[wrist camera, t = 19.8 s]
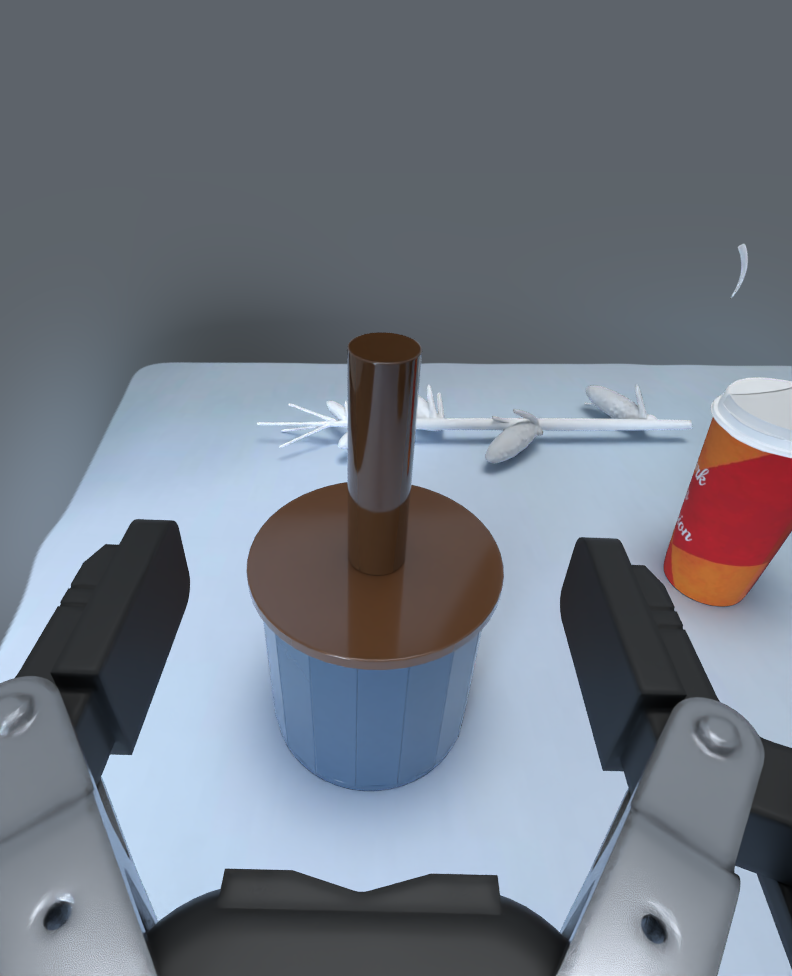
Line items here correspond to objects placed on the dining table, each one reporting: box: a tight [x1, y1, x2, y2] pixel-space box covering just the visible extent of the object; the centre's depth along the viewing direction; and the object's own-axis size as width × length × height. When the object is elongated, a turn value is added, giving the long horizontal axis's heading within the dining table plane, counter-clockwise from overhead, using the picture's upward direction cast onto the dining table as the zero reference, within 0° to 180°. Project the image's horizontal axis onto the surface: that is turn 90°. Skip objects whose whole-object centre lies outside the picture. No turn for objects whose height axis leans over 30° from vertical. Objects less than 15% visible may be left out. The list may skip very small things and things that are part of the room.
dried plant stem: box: [257, 244, 748, 463], centre depth 50 cm, size 12×19×40 cm
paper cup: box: [664, 377, 792, 606], centre depth 39 cm, size 8×8×14 cm
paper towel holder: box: [247, 333, 504, 670], centre depth 24 cm, size 11×11×11 cm
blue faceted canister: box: [263, 621, 482, 791], centre depth 31 cm, size 10×10×10 cm
